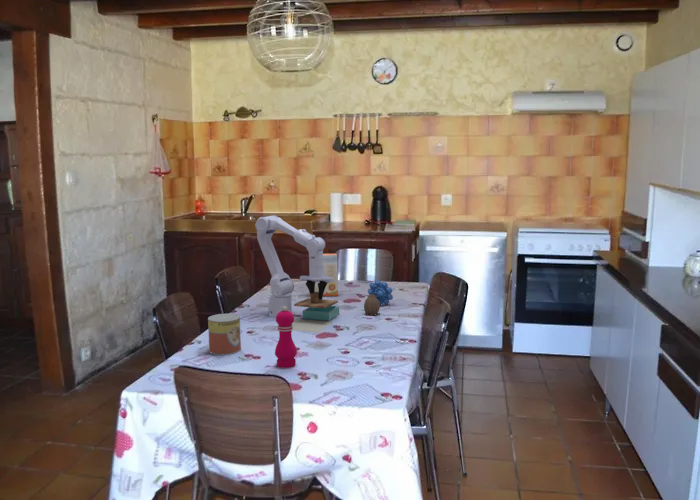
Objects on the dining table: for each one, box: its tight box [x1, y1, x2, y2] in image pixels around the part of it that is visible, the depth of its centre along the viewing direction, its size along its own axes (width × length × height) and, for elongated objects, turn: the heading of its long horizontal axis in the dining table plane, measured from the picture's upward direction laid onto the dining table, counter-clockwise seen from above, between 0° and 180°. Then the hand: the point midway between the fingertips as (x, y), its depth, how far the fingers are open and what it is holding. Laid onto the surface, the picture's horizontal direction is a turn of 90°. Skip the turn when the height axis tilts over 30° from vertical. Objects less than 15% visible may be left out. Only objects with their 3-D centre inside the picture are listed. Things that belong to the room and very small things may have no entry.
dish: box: [302, 305, 340, 322], centre depth 263 cm, size 12×12×4 cm
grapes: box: [367, 279, 394, 306], centre depth 282 cm, size 12×7×12 cm, turn 86°
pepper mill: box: [274, 306, 298, 369], centre depth 202 cm, size 7×7×20 cm
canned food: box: [207, 313, 242, 356], centre depth 219 cm, size 11×11×12 cm
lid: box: [293, 292, 339, 309], centre depth 257 cm, size 14×14×5 cm
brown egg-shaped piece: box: [363, 293, 381, 316], centre depth 267 cm, size 7×7×9 cm
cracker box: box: [308, 252, 339, 298], centre depth 304 cm, size 14×6×21 cm, turn 94°
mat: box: [292, 318, 333, 333], centre depth 249 cm, size 16×16×1 cm
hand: (316, 298), depth 257 cm, fingers closed on lid, 3 cm apart
